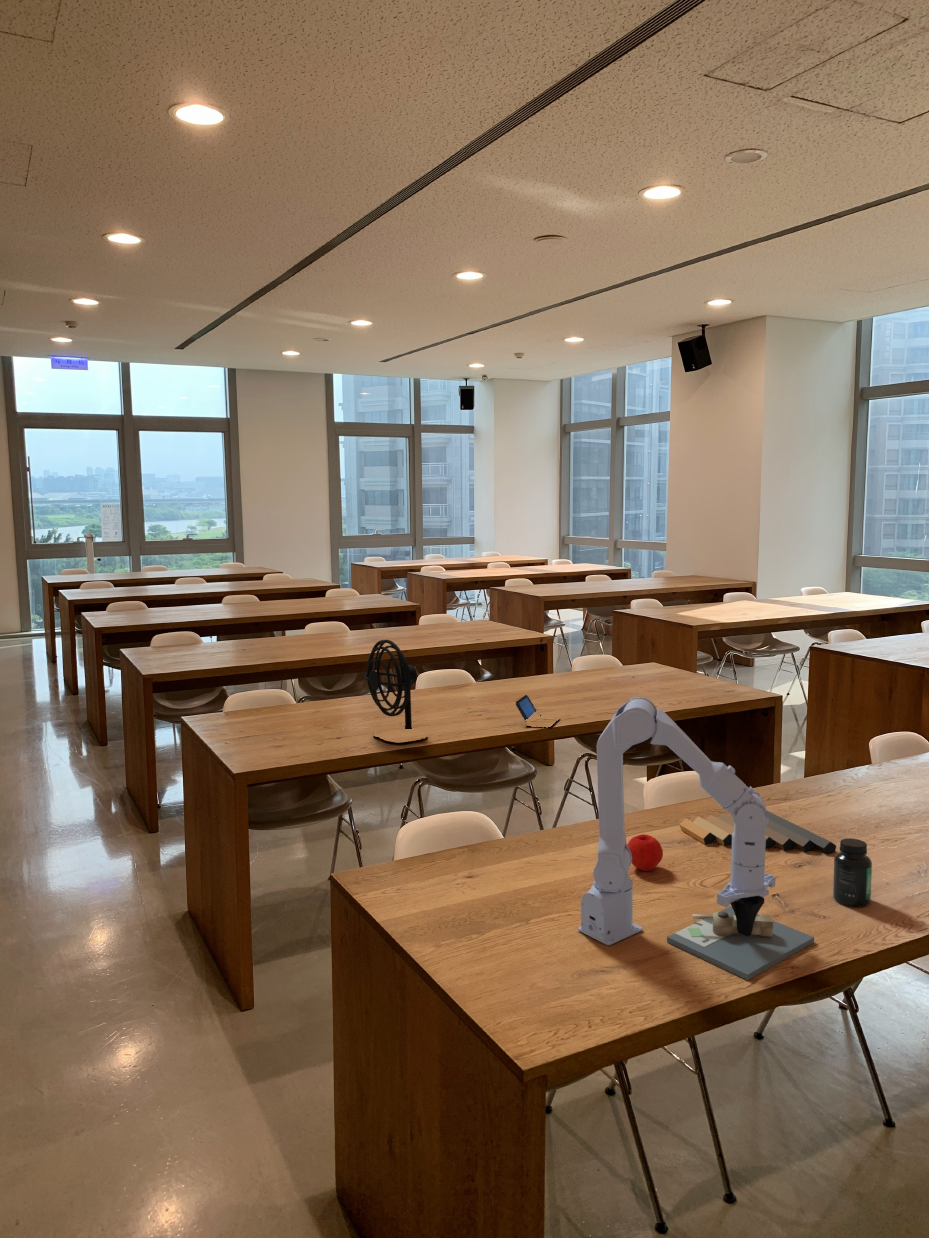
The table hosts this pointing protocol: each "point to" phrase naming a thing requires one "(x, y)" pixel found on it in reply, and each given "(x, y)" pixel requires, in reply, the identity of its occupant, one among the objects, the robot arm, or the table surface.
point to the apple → (645, 852)
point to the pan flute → (776, 833)
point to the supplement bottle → (852, 874)
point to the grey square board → (740, 946)
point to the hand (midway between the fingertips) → (745, 933)
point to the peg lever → (728, 924)
